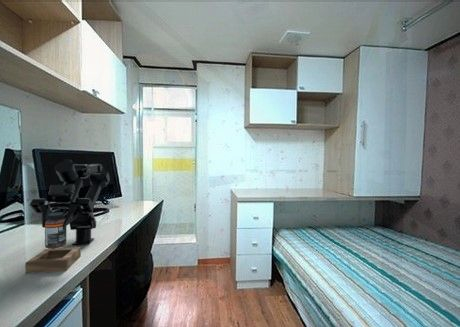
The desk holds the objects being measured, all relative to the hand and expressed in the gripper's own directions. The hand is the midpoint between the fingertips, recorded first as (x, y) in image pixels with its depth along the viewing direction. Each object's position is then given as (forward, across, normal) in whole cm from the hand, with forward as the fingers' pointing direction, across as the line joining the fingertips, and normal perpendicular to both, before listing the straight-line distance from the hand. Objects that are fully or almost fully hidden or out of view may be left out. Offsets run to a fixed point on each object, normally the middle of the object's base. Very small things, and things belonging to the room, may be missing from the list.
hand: (53, 226), depth 78 cm
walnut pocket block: (+9, 0, +10) cm, 13 cm away
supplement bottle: (+4, 0, +6) cm, 7 cm away
